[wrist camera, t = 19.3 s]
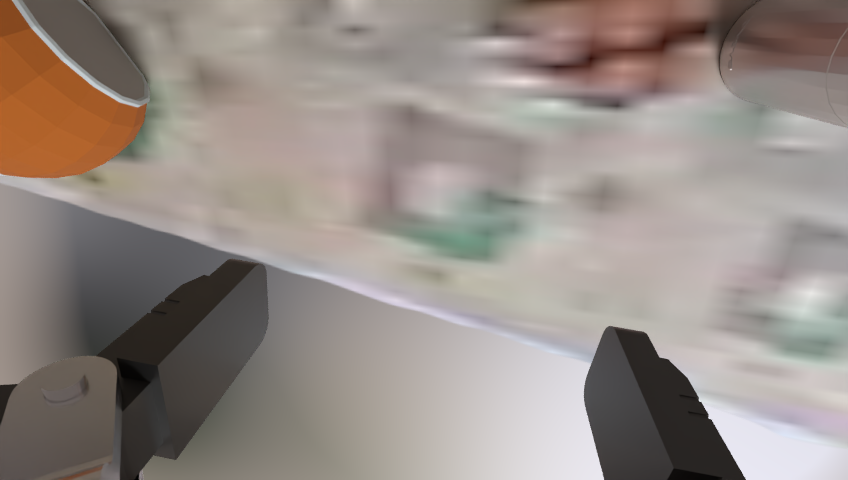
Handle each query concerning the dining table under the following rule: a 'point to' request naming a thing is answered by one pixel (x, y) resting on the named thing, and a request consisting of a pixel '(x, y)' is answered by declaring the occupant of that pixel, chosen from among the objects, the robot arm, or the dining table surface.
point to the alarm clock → (63, 90)
